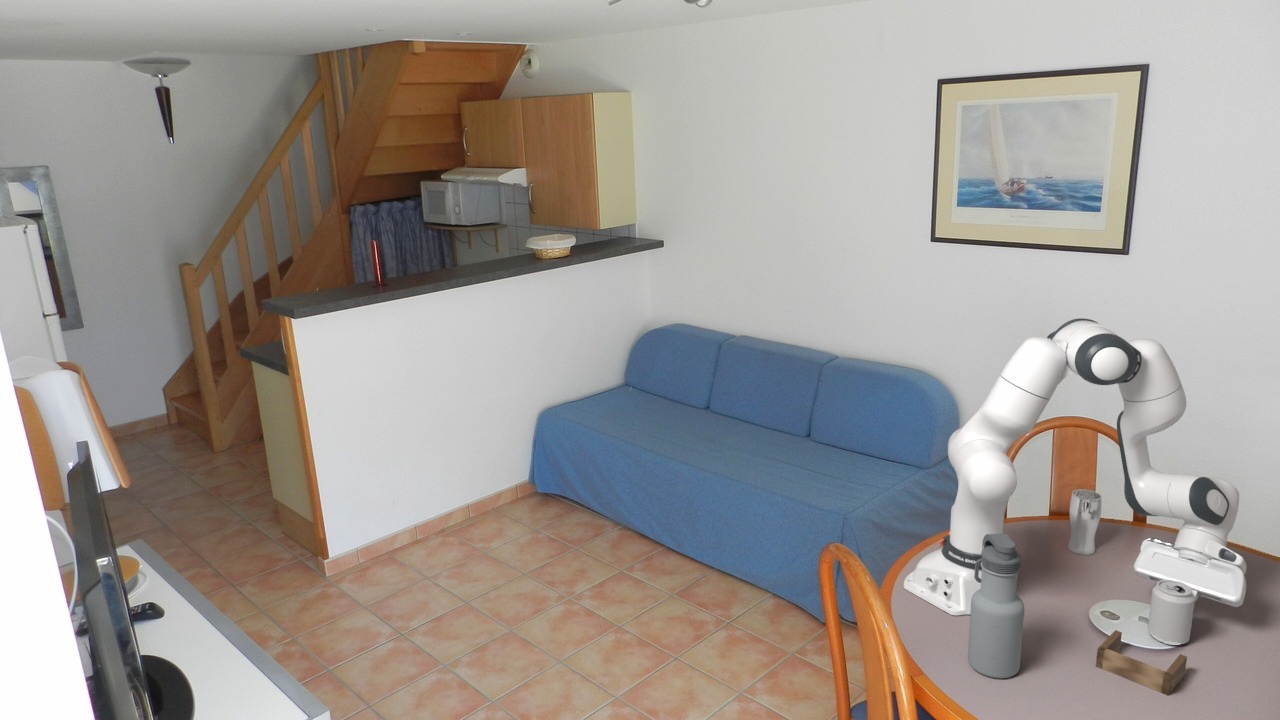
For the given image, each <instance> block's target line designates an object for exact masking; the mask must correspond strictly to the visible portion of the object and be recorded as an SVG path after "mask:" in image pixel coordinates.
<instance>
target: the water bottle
mask: <svg viewBox="0 0 1280 720" xmlns="http://www.w3.org/2000/svg"><path fill="white" fill-rule="evenodd" d="M981 555H982V559H979V560H977V561H976V563H975V574H974V578H975V580H976V581H977V582H979V583H981V589H979V590H977V591H976V592H975V593H974V594H973V596H972V598H971V610H970V614H969V626H968V627H969V629H968V647H967V661H968V663H969V665H970V667H971V668H973V670H974V671H975V672H978V673H979V674H981V675H983V676H986V677H988V678H994V679H1008V678H1011V677H1014V676H1016V674H1017V673H1018V672H1019V671H1020V669H1021V659H1022V647H1023V646H1022V645H1023V635H1024V634H1023V633H1024V621H1025V619H1024V618H1025V604H1024V601H1023V599H1022V598H1021V597H1020V596H1019V595H1018V591H1017V590H1018V580H1019V578H1018V577H1019V573H1020V571H1021V569H1020V567H1021V555H1020V553H1019V552H1018V551H1017V550H1016V543H1015V542H1014V541H1013V540H1012V539H1011V538H1010V536H1009V535H1008V534H1006V533H1003V534H986V535H985V536H984V538H983V543H982V552H981ZM980 565H981V567H982V575H981V579H980V578H979V576H978V574H979V566H980Z"/></svg>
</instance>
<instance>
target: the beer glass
mask: <svg viewBox="0 0 1280 720" xmlns="http://www.w3.org/2000/svg"><path fill="white" fill-rule="evenodd" d="M1101 515H1102V495H1101V494H1100V493H1099V492H1097V491H1094V490H1092V489H1085V488H1083V489H1075V490H1073V491H1072V492H1071V497H1070V503H1069V522H1070V539H1069V542H1068V544H1067V545H1068V546H1067V548H1068V550H1070V552H1072V553H1075V554H1077V555H1081V556H1090V555H1094V553H1096V545H1095V537H1096V533H1097V530H1098V528H1099V523H1100V520H1101V517H1102V516H1101Z"/></svg>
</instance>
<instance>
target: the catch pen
mask: <svg viewBox="0 0 1280 720" xmlns="http://www.w3.org/2000/svg"><path fill="white" fill-rule="evenodd" d="M1122 633H1123V632H1122V631H1119V630H1116V629H1114V631H1113V632H1112V633H1111V634H1110V635H1109V636H1108V637H1107V638H1106V640H1104V641H1103V642H1102V643H1101V645H1099V646H1098V648H1097V652H1096V662H1095V667H1098V668H1099V669H1102V670H1105V671H1107V672H1109V673H1112V674H1114V675H1117V676H1119V677H1121V678H1124V679H1127V680H1129V681H1131V682H1135V683H1136V684H1139V685H1141V686H1143V687H1147V688H1150V689H1152V690H1153V691H1156V692H1159V693H1161V694H1164V695H1166V696H1169V695H1170V694H1171V693H1172V691H1173V690H1174V689H1175V688H1176V686H1177V685H1178V684H1179V683H1180V681H1181V680H1182V678H1183V677H1184V676H1185V674H1186V668H1187V667H1186V666H1187V660H1188V656H1187V655H1184V654H1181V653H1180V654H1179V655H1178V656H1177V658H1175V660H1174V661H1173V662H1172V664H1171V665H1170V666H1169V667H1168V668H1167V669H1166V670H1163V669H1160V668H1157V667H1155V666H1152V665H1150V664H1147V663H1145V662H1142V661H1139V660H1137V659H1135V658H1132V657H1130V656H1127V655H1124V654H1121V653H1119V651H1120V650H1121V642H1122Z"/></svg>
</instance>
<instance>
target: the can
mask: <svg viewBox="0 0 1280 720" xmlns="http://www.w3.org/2000/svg"><path fill="white" fill-rule="evenodd" d="M1195 603H1196V601H1195V596H1194V595H1193V593H1192V589H1191V588H1190V587H1189V586H1188V585H1186V584H1185V583H1182V582H1179V581H1175V580H1160V581H1159V582H1156V585H1155V586H1153V587H1152V590H1151V598H1150V607H1149V614H1148V615H1149V616H1148V623H1147V630H1148V629H1149V631H1150V632H1151V633H1152V634H1153V635H1155V636H1156V637H1158V638H1160V639H1162V640H1164V641H1168V642H1169V641H1171V642H1177V643H1181V644H1182V645H1183V644H1186V643H1188V642H1189V641H1190V637H1191V632H1192V631H1191V630H1192V624H1193V617H1194V609H1195Z"/></svg>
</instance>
